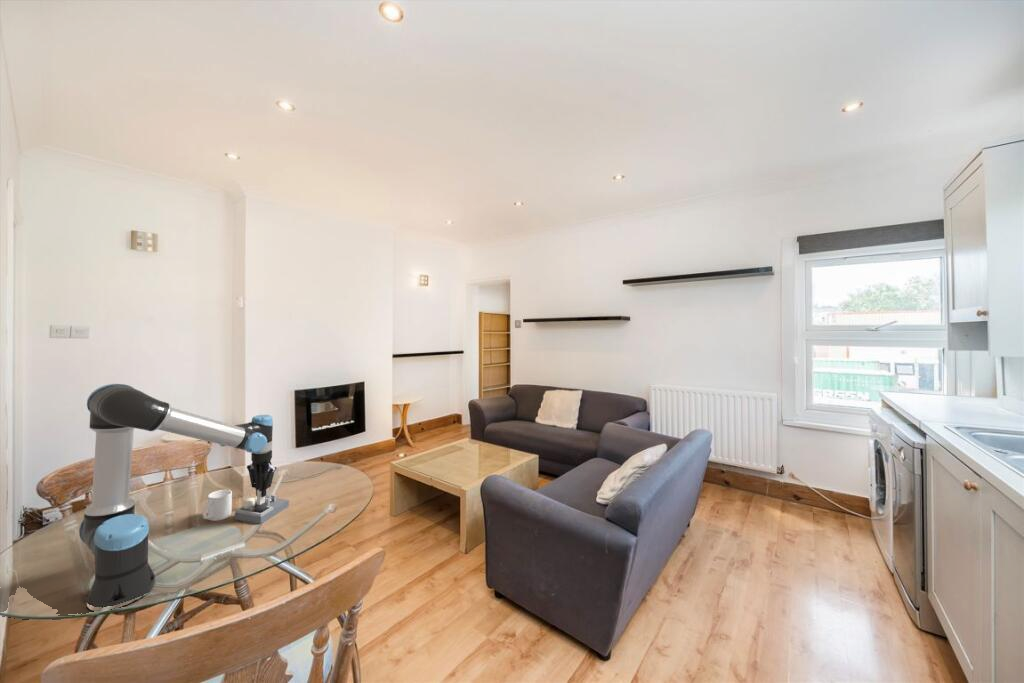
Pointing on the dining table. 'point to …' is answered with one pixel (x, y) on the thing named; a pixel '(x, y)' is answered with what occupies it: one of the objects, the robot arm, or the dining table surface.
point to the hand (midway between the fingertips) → (260, 503)
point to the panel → (259, 518)
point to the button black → (261, 507)
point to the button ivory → (248, 503)
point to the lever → (268, 495)
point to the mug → (218, 505)
